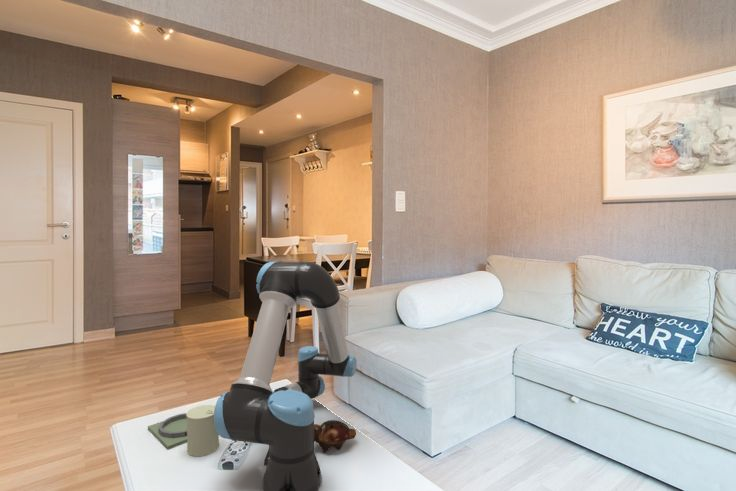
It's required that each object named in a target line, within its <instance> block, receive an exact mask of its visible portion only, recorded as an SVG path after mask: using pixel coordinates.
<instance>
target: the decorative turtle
mask: <svg viewBox="0 0 736 491" xmlns="http://www.w3.org/2000/svg"><path fill="white" fill-rule="evenodd" d="M356 436H357V431H356V430H355V428H350V427H349V426H348V424H346V423H344V422H343V421H340V420H336V419H331V420H327V421H325V422H323V423H321V424H320V425H319V424H318V423H314V443H317V444H318V445H319V447H320V449H321V451H322V452H323V453H327V452H328V451H329V450H330V449H331V448H332V447H333V448H334V449H335V450H337V451H340V450H341V449H342V448H343V446H344V444H345V442H346V441H348V440H354V439H355V437H356Z"/></svg>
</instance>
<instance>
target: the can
mask: <svg viewBox="0 0 736 491" xmlns="http://www.w3.org/2000/svg"><path fill="white" fill-rule="evenodd" d="M214 410H215V405H212V404H204V405H199V406H195V407H192V408H190V409H189V410H188V411H187V412H186V413H187V414H186V416H187V442H186V443H187V444H186V445H187V449H186V453H187V455H189V456H192V457H203V456H204V457H205V456H208V455H210V454H213V453H214V452H216V451H217V450H218V449H219V447H220V441H219V440H220V438H219V437H220V436H219V435H218V433H217V432H216V429H215V425H214Z"/></svg>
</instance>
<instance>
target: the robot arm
mask: <svg viewBox="0 0 736 491" xmlns="http://www.w3.org/2000/svg"><path fill="white" fill-rule="evenodd" d="M255 288H256V290H257V294H259V299H260V301H261V302H262V303H261V306H260V310H259V313H258V316H257V319H256V322H255V325H254V330H253V333H252V335H251V339H250V342H249V345H248V348H247V352H246V356H245V359H244V362H243V366H242V369H241V372H240V375H239V378H238V379H237V380H236V381H234V382H232V383H231V386H230V389H229V391H226V392H223V393H222V394H221V395H220V396H219V397H218V398H217V399H216V400H217V401H216V403H215V405H214V406H215V410H214V425H215V429H216V432H217V433H218V435H219V437H221V438H223V439H227V440H231V441H234V442H246V443H251V444H259V445H260V444H261V445H268V446H269V447H268V448H269V449H268V452H269V454H268V455H269V456H268V461H267V465H266V467H265V472H264V474H263V476H262V477H263V478H262V491H319V490H318V489H320V487H321V484H322V471H321V467H320V464H319V461H318V459H317V456H316V453H315V441H314V424H315V417H316V416H315V411H314V410H315V408H314V403H313V400H312V399H315V398H318V397H319V396H321V395H323V394H324V392H325V389H326V384H325V381H324V379H323V377H322V376H321V375H323V376H332V377H333V376H335V377H346V378H347V377H353V376H355V373H356V371H357V358H356V357H355V356H354V355H351V354H349V353H348V352H349V351H348V347H347V342H346V336H345V332H344V331H345V330H344V327H343V326H344V325H343V321H342V316H341V311H340V307H339V302H340V300H341V295H340V292H339V287H338V286H337V283H336V282H335V280H334V278H333V277H332V275H330V273H329V272H328V271H327V270H326V269H325V268H324V267H323V266H321V265H319V264H317V263H316V262H311V261H282V260H277V261H269V262H267V263H265V264H264V265H262V267H261V268H260V269H259V271H258V273H257V276H256V287H255ZM297 299H308V300H310V304H311V306H312V307H313V308H315V311H316V314H317V318H318V323H319V327H320V331H321V335H322V340H323V343H324V347H325V352H326V353H320V352H319V348H318V347H316V346H312V345H307V346H302V347H301V348H299V350H298V356H297V373H298V374H297V376H298V378H297V379H298V381H296V382H293V383H290V384H287V385H285V386H280V387H278V388H275V389H274V390H273V388H271V385H270V384H271V380H272V376H273V372H274V369H275V364H276V361H277V358H278V353H279V350H280V347H281V342H282V338H283V334H284V331H285V326H286V323H287V319H288V315H289V312H290V309H292V308H294V307H295V306H296V303H297Z"/></svg>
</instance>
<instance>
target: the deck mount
mask: <svg viewBox="0 0 736 491" xmlns="http://www.w3.org/2000/svg"><path fill="white" fill-rule="evenodd" d="M186 414H187V412H183V413H178V414H175V415H173V416H170V417H168V418H166V419H164V420H163V421H160V422H159V421H158V422H157V423H154V424H151V425H148V426H147V430H148V431H149V432H150V433H151V434H152V435H153V436H154V437H155V438H156V439H157V440H158V442H160V444H162V445H163V446H164V448H165V449H166V450H170V449H174V448H176V447H178V446H181V445H183V444H186V443H187V416H186Z"/></svg>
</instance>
